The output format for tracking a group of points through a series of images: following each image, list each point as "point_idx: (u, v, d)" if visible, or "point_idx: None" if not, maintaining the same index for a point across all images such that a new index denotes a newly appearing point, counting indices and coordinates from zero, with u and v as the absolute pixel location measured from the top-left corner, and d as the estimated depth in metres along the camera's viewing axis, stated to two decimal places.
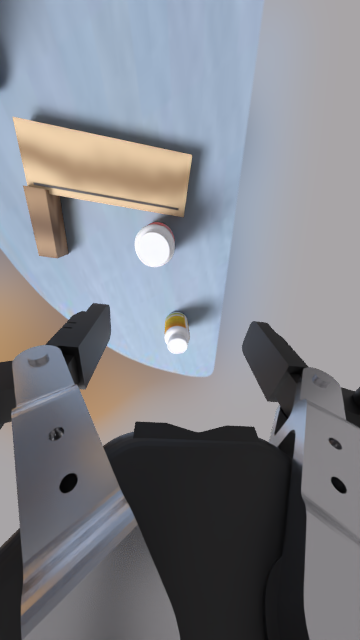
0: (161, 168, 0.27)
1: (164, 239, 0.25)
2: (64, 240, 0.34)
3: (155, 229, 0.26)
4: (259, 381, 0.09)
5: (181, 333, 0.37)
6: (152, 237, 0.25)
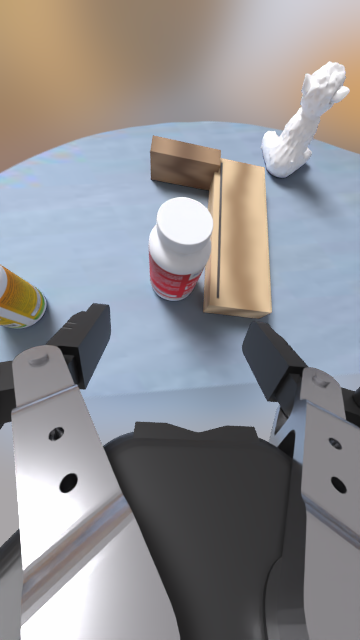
0: (254, 279, 0.24)
1: (204, 238, 0.15)
2: (166, 179, 0.29)
3: (208, 242, 0.17)
4: (258, 381, 0.09)
5: None
6: (205, 221, 0.15)
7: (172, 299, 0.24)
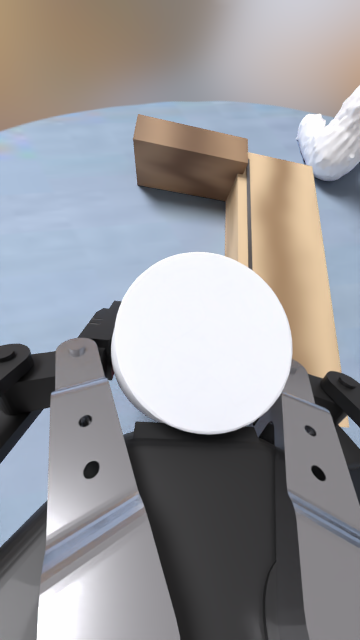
0: (313, 362, 0.13)
1: (272, 395, 0.04)
2: (161, 184, 0.19)
3: None
4: None
5: None
6: (269, 329, 0.05)
7: None
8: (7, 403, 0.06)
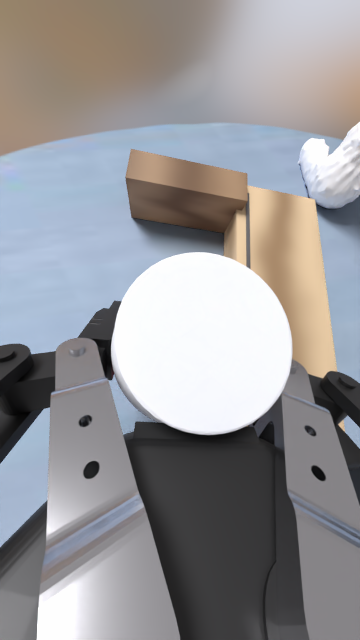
0: None
1: (272, 395, 0.04)
2: (156, 217, 0.18)
3: None
4: None
5: None
6: (269, 329, 0.05)
7: None
8: (7, 403, 0.06)
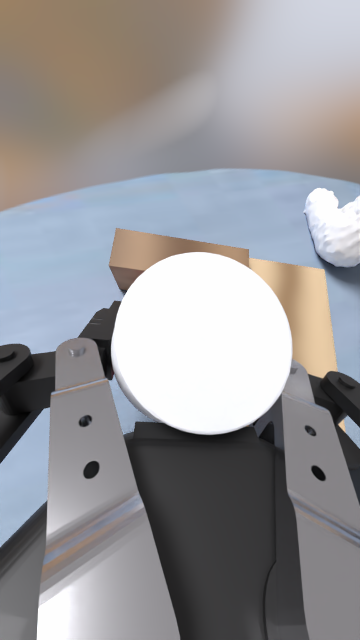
0: None
1: (272, 395, 0.04)
2: None
3: None
4: None
5: None
6: (269, 329, 0.05)
7: None
8: (7, 403, 0.06)
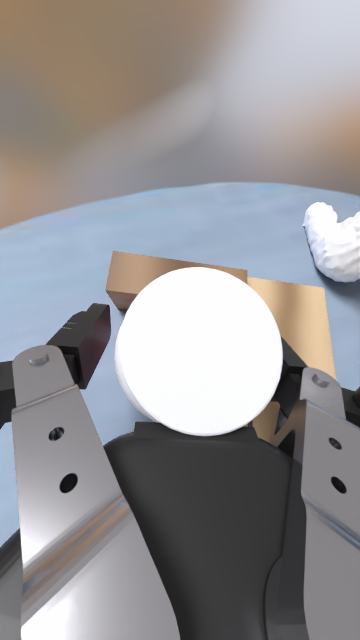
0: None
1: (263, 400, 0.05)
2: None
3: None
4: None
5: None
6: (261, 339, 0.05)
7: None
8: None
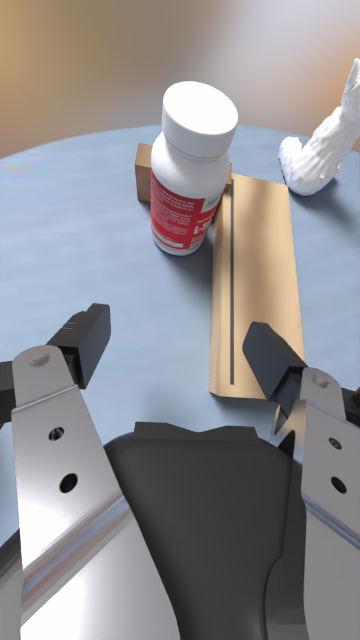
0: None
1: (227, 129, 0.11)
2: None
3: (227, 156, 0.13)
4: (259, 381, 0.09)
5: None
6: (228, 111, 0.11)
7: (177, 252, 0.20)
8: None
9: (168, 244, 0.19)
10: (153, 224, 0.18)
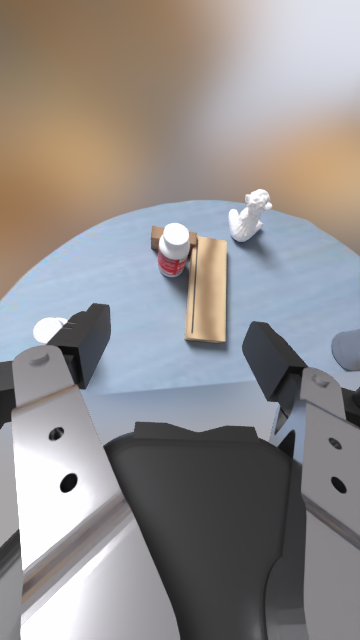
0: (215, 320, 0.38)
1: (184, 241, 0.33)
2: None
3: (187, 243, 0.35)
4: (259, 381, 0.09)
5: None
6: (185, 234, 0.33)
7: (170, 276, 0.42)
8: None
9: (166, 273, 0.41)
10: (159, 264, 0.40)
